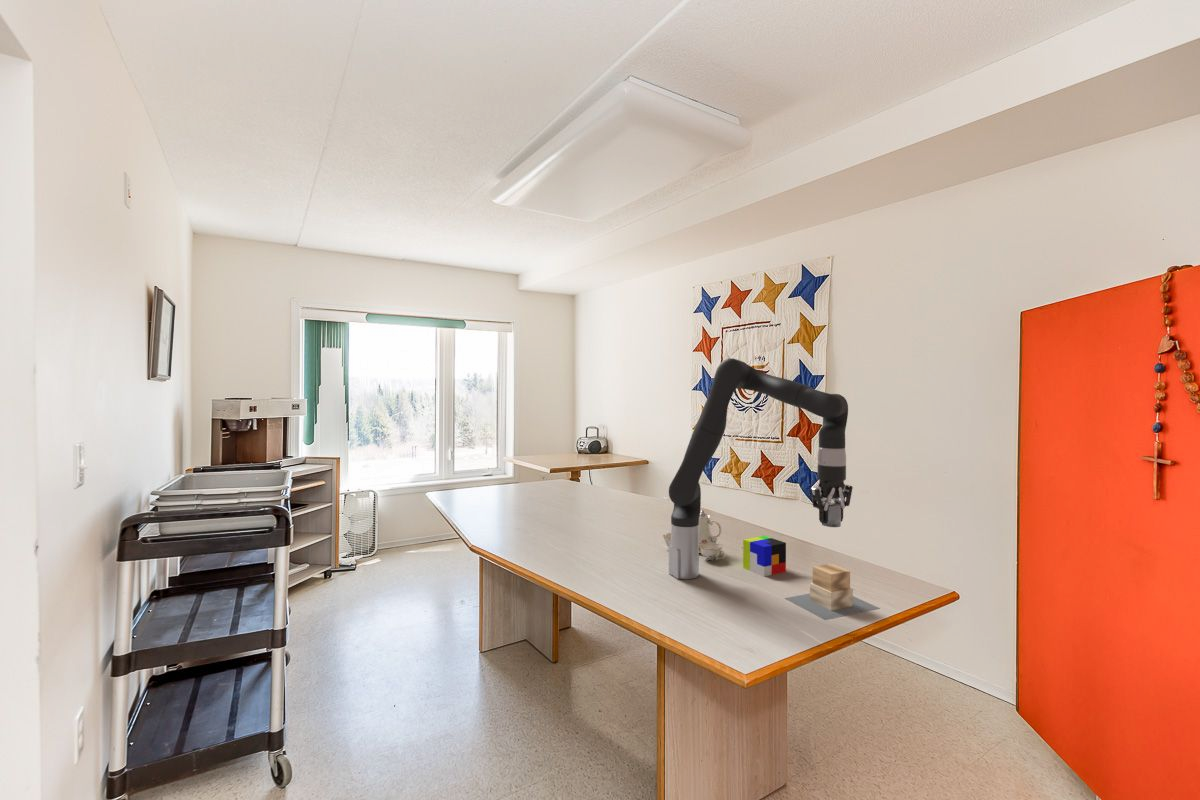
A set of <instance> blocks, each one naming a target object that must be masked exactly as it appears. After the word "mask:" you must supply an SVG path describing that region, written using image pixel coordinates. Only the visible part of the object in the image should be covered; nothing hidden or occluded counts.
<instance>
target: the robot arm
mask: <svg viewBox="0 0 1200 800" xmlns="http://www.w3.org/2000/svg"><path fill="white" fill-rule="evenodd" d="M715 370H716V371H715V373H714V376H713V380H712V384H711V387H710V390H709V392H708V393H709V394H708V397H707V398H706V401H705V403H704V405H703V409H702V410H701V414H700V415H699V417H698V420H697V422H696V425H695V427H694V430H693V432H692V433H691V437H690V439H689V442H688V445H687V448H686V451H685V454H684V456H683V459H682V462H681V464H680V466H679V468H678V470H677V471H676V473H675V475H674V477H673V478H672V480H671V483H670V484H669V486H668V496H669V499H670V501H671V502H672V503H673V510H672V513H671V517H670V533H671V545H669V547H668V574H669V573H670V575H671V576H672V575H673V576H672V577H674V578H675V579H677V580H678V579H683V580H691V579H696V578H699V575H700V574H699V573H700V568H699V567H700V565H699V564H700V560H699V559H700V554H699V517H700V511H701V504H702V503H701V502H702V501H701V499H702V498H701V497H702V496H701V495H702V493H701V492H702V491H701V490H702V489H701V485H700V482H699V481H700V479H701V476H702V474H703V472H704V470H705V468H706V467H707V465H708V463H709V462H710V461H711V459H712V458H713V457H714V455H715V453H716V451H717V449H718V447H719V445H720V443H721V441H722V438H723V436H724V433H725V430H726V427H727V419H728V418H727V416H728V408H729V404H730V401H731V399H732V397H733V394H734V393H735V391H736V389H737V390H738V389H740V390H746V391H747V390H748V391H753V392H757V393H761V394H763V395H765V396H768V397H770V398H773V399H775V400H777V401H779V402H781V403H784V404H786V405H787V404H788V405H790V406H793V407H796V408H800V409H802V410H805V411H806V412H808V413H811V414H814V415H815V416H818V417H820V418H822V426H821V428H820V429H819V431H818V432H819V433H818V451H817V479H818V480H819V483H818V486H816V487H810V488H809V491H810V492H809V493H810V496H811V502H812V507H813V508H815V509H818V520H819V522H820V523H821V524H822V523H824V524H826V523H828V511H827V509H828V505H829V503H832V501H833V503H838V504H840V505H841V523H842V522H843V520H844V510H845V507H849V506H850V503H851V498H852V493H853V489H854V487H853V486H852V485H848V484H845V481H846V480H847V453H846V452H847V451H846V429H847V423H848V417H849V403H848V402H847V401H848V400H847V399H846V398H845V397H844V396H843V395H842V394H839V393H827V392H825V391H824V392H823V391H821V390H817V389H814V388H813V387H812V386H809V385H807V384H803V383H800V382H799V381H798V382H797V381H795V380H792V379H791V380H790V379H787V378H783V377H778V376H774V375H771V374H768V373H765V372H763V371H760V370H758V369H756V368H754V367H752V366H751V365H749V364H747V363H746V362H744V361H742V360H740V359H735V358H726V359H724V360H722V361H721V362H720V363H719V365H718V367H717V368H716V369H715ZM823 503H824V506H823Z"/></svg>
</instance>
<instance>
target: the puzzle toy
mask: <svg viewBox="0 0 1200 800" xmlns="http://www.w3.org/2000/svg"><path fill="white" fill-rule="evenodd" d="M742 541H743V542H742V543H743V544H742V547H743V548H742V551H743V552H742V556H743V557H742V566H743V567H742V568H743V569H745V570H748V571H750V572H753V573H755V574H757V575H759V576H762V577H769V576H773V575H777V574H782V573H786V572H787V542H784V541H782V540H779V539H775V538H774V537H770V536H767V535H760V536H755V537H750V538H744V539H743V540H742Z"/></svg>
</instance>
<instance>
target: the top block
mask: <svg viewBox="0 0 1200 800" xmlns="http://www.w3.org/2000/svg"><path fill="white" fill-rule="evenodd" d="M812 583H813V584H815V585H817V586H819V587H821V588H823V589H826V590H828V591H830V592H834V591H839V590H845V589H850V588H851V571H850V570H848V569H846V568H843V567H841V566H838V565H836V564H833V563H827V564H821V565H816V566H815V565H813V566H812Z"/></svg>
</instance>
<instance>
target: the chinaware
mask: <svg viewBox="0 0 1200 800" xmlns="http://www.w3.org/2000/svg"><path fill="white" fill-rule="evenodd" d="M713 523H715V524H716V525H717V526H718V528H719V530H718V531H719V532H718V534H717V535H714V536H713V534H712V531H711V528H710V527H711V526H712V525H713ZM721 534H722V526H721V524H720V523H719V522H718V521H716V520H714V519H711V515H708V514H707V513H706V512H705V510H704V509H703V508H702V509H700V517H699V553H702V554H701V555H702V556H703V557H704V559H707V560H706V561H708V560H714V559H715V560H714V561H718V560H719V559H720V560H722V559H724V558H725V557H726V553H725V551H724V550H722V549H723V547H722V544H721V543H717V541H718V537H720V535H721ZM662 538H663V539H664V542H665V545H666V546H667V547H668V548H669V545H671V532H668V533H666V534H662ZM720 553H723V557H719V555H720Z"/></svg>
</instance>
